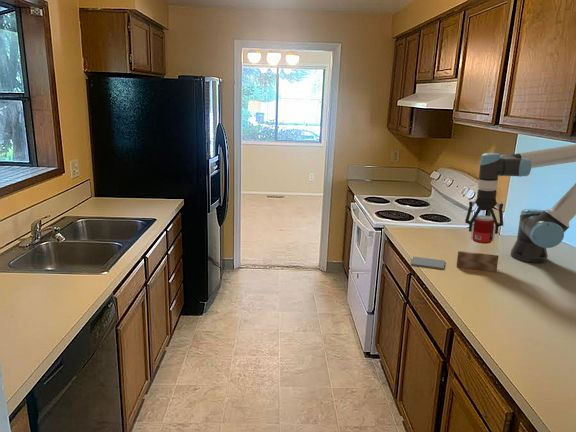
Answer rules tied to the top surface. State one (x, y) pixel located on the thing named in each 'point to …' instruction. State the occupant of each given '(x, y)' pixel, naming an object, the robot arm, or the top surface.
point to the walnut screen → (477, 261)
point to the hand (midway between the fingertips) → (482, 239)
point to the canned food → (483, 229)
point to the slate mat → (428, 263)
